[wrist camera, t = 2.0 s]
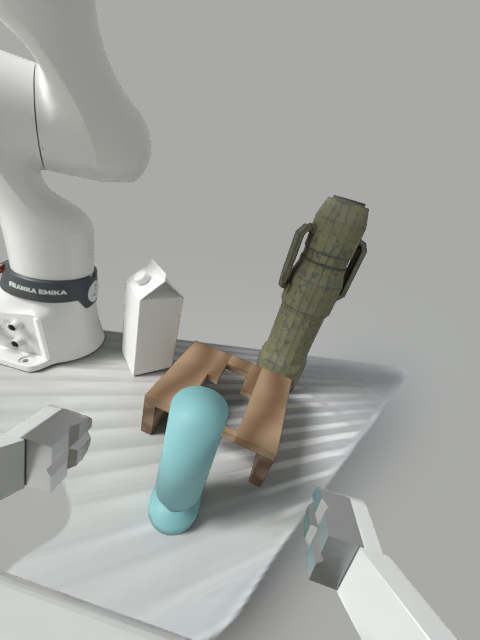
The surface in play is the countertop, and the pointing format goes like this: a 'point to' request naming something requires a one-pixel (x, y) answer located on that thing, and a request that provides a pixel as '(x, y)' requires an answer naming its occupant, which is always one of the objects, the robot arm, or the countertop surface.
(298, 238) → the thermos
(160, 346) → the milk carton
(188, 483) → the teal necked cylinder
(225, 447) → the countertop surface
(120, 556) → the countertop surface
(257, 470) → the keyhole bridge
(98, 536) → the countertop surface
